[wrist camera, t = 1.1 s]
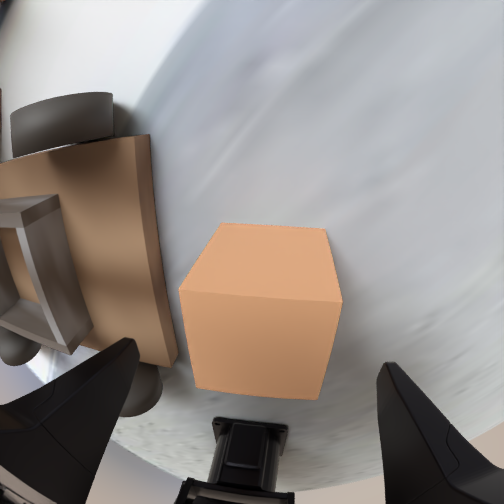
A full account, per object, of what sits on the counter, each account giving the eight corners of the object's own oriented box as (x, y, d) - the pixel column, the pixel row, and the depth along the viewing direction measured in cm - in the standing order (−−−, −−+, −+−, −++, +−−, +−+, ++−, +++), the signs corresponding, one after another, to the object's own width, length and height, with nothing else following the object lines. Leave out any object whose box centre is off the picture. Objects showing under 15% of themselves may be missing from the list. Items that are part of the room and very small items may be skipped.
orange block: (313, 312, 16) (317, 399, 10) (225, 305, 16) (196, 387, 11) (324, 228, 14) (342, 301, 8) (221, 222, 14) (178, 289, 9)
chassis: (183, 372, 20) (159, 433, 15) (16, 323, 22) (-13, 354, 17) (148, 90, 11) (73, 85, 7) (-32, 149, 14) (-77, 167, 9)
